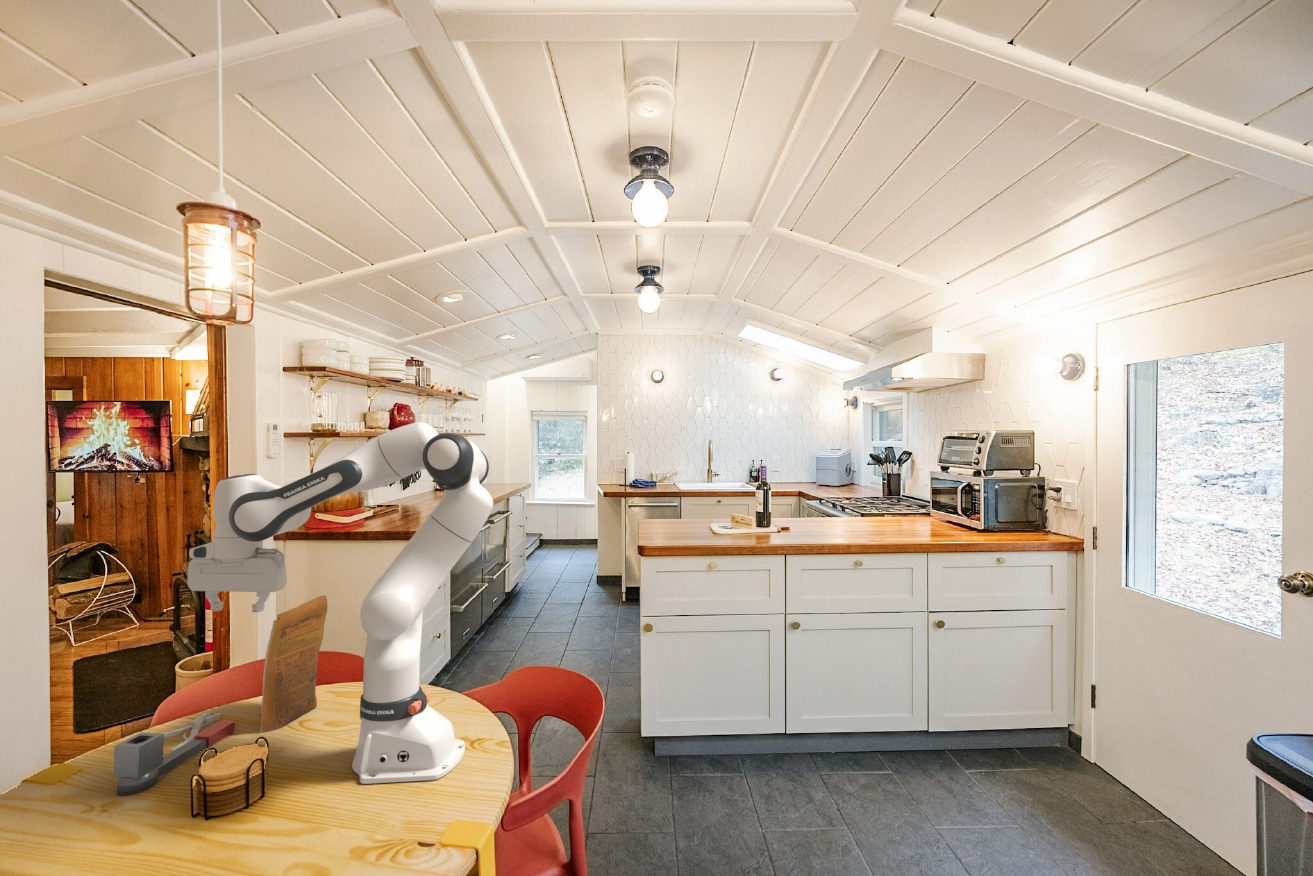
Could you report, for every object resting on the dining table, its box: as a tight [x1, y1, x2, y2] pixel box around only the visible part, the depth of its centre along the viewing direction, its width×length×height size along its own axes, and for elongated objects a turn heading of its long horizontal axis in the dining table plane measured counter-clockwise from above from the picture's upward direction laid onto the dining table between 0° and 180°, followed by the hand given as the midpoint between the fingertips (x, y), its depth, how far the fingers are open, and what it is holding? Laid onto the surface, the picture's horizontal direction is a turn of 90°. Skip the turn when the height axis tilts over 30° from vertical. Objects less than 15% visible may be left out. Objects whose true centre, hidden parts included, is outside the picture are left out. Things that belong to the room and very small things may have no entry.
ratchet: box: [116, 720, 236, 797], centre depth 117 cm, size 6×24×8 cm, turn 176°
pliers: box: [162, 711, 221, 753], centre depth 128 cm, size 10×2×15 cm
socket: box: [113, 732, 165, 779], centre depth 108 cm, size 5×5×6 cm
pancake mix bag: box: [259, 594, 328, 733], centre depth 137 cm, size 7×19×28 cm, turn 169°
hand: (237, 611), depth 122 cm, fingers open, 8 cm apart
